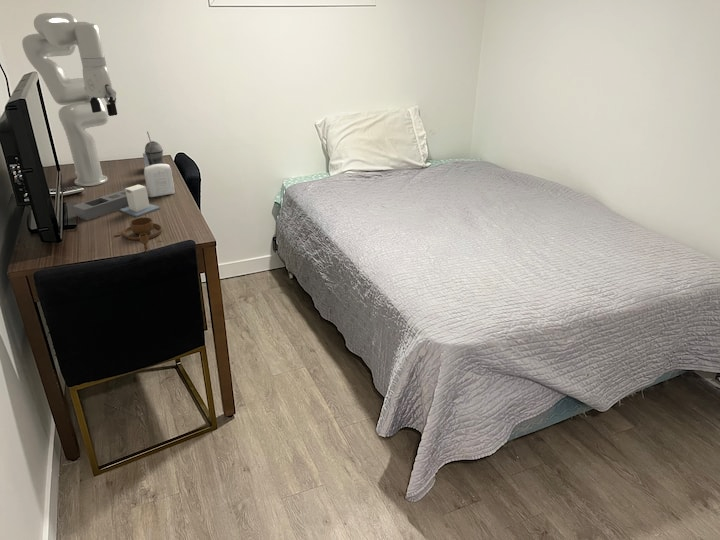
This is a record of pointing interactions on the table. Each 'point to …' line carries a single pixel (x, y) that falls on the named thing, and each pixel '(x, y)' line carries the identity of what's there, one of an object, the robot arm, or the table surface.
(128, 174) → the table surface
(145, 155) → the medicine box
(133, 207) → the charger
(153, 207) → the mat
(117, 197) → the power strip
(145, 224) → the place setting
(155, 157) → the beverage cup
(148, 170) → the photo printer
